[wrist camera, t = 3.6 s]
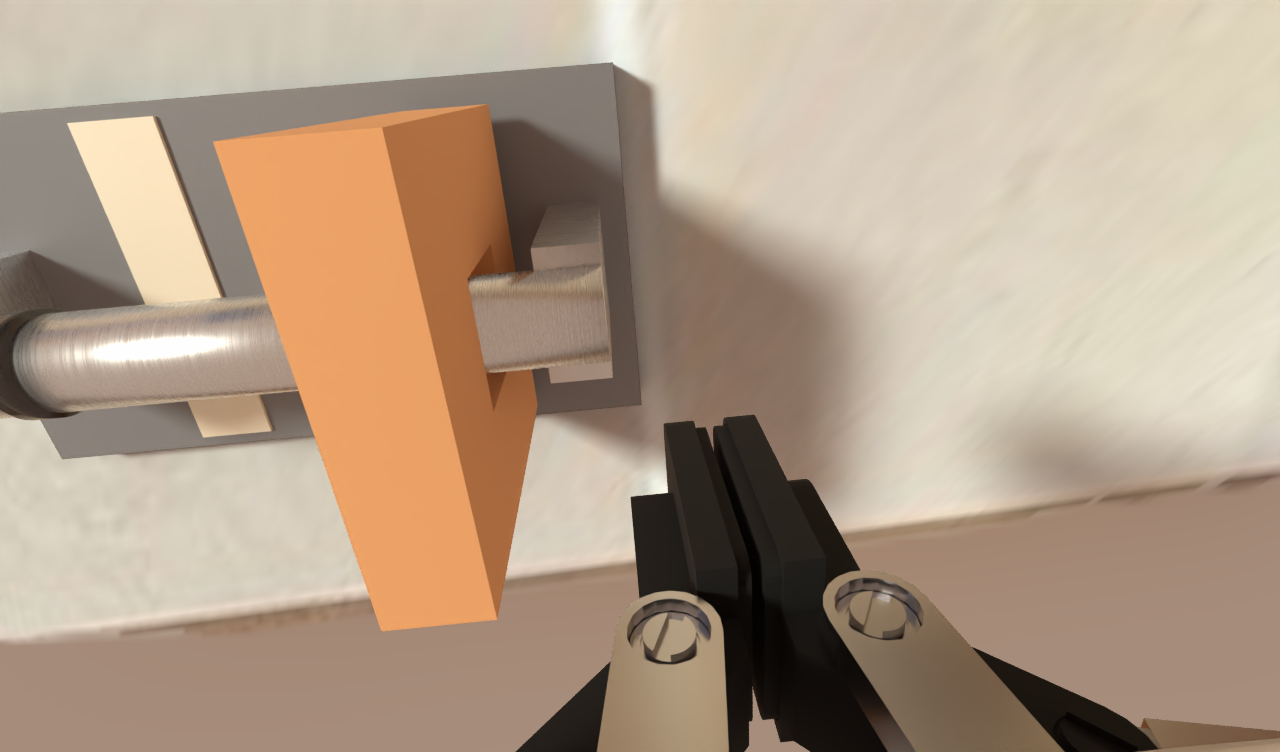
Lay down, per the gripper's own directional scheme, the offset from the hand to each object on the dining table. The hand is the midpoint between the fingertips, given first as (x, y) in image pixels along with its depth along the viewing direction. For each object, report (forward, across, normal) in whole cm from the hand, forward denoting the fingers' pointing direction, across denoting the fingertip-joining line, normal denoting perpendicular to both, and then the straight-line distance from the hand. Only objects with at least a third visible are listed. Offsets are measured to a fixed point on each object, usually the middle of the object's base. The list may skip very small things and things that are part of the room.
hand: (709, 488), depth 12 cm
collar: (+15, +7, -1) cm, 16 cm away
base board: (+17, +14, -1) cm, 22 cm away
